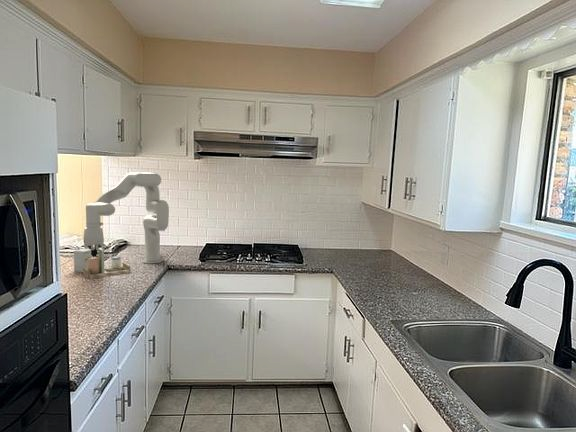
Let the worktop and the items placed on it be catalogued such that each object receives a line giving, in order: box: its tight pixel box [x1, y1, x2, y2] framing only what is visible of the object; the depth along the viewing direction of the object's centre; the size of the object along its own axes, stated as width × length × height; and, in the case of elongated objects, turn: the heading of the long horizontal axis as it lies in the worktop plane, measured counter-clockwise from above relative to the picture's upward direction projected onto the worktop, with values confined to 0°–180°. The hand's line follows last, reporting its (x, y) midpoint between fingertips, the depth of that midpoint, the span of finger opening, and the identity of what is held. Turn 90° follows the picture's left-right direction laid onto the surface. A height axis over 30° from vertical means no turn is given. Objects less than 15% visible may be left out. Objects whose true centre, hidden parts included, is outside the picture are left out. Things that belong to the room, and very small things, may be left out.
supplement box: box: [73, 248, 93, 273], centre depth 247 cm, size 7×7×13 cm
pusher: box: [97, 247, 109, 273], centre depth 241 cm, size 3×8×15 cm, turn 40°
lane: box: [82, 262, 131, 279], centre depth 243 cm, size 24×11×4 cm, turn 130°
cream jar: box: [110, 255, 122, 268], centre depth 256 cm, size 6×6×7 cm
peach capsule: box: [88, 256, 100, 275], centre depth 238 cm, size 6×6×10 cm
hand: (94, 256), depth 238 cm, fingers closed
